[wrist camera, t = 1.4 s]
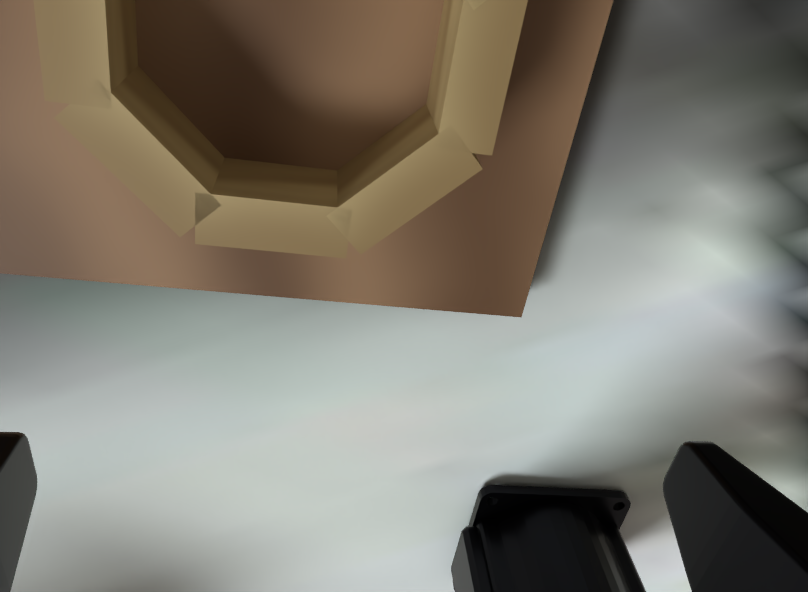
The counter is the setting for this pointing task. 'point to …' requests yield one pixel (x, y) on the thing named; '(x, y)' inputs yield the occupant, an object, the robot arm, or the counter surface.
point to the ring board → (291, 144)
